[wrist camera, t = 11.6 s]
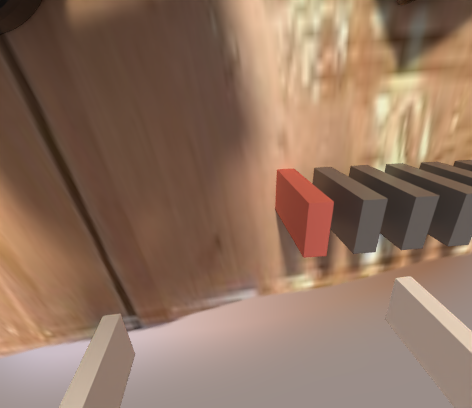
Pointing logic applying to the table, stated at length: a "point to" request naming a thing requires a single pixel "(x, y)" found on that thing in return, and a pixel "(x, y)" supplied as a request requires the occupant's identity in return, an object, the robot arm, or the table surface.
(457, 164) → the domino
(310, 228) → the domino red
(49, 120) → the table surface
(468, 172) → the domino
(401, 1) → the beverage carton
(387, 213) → the domino
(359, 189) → the domino
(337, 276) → the table surface
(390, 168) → the domino
